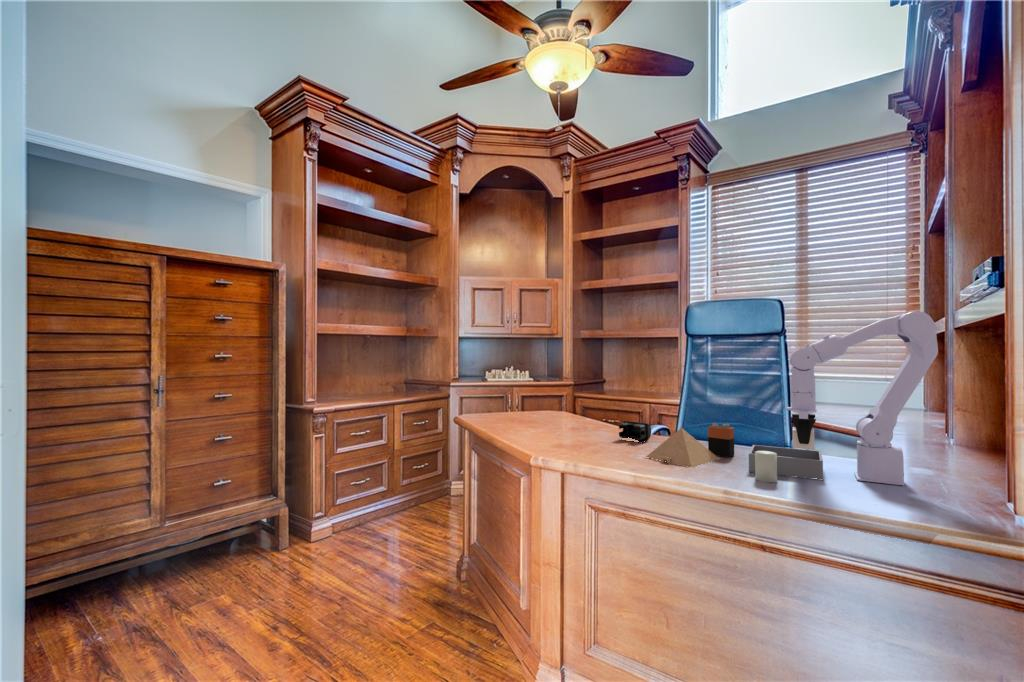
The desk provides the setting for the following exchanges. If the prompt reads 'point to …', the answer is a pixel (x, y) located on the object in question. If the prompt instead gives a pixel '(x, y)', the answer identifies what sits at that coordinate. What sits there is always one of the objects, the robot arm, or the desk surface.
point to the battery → (721, 440)
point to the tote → (792, 461)
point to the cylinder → (766, 466)
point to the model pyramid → (683, 450)
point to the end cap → (635, 430)
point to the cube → (803, 446)
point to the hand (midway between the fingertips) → (803, 441)
